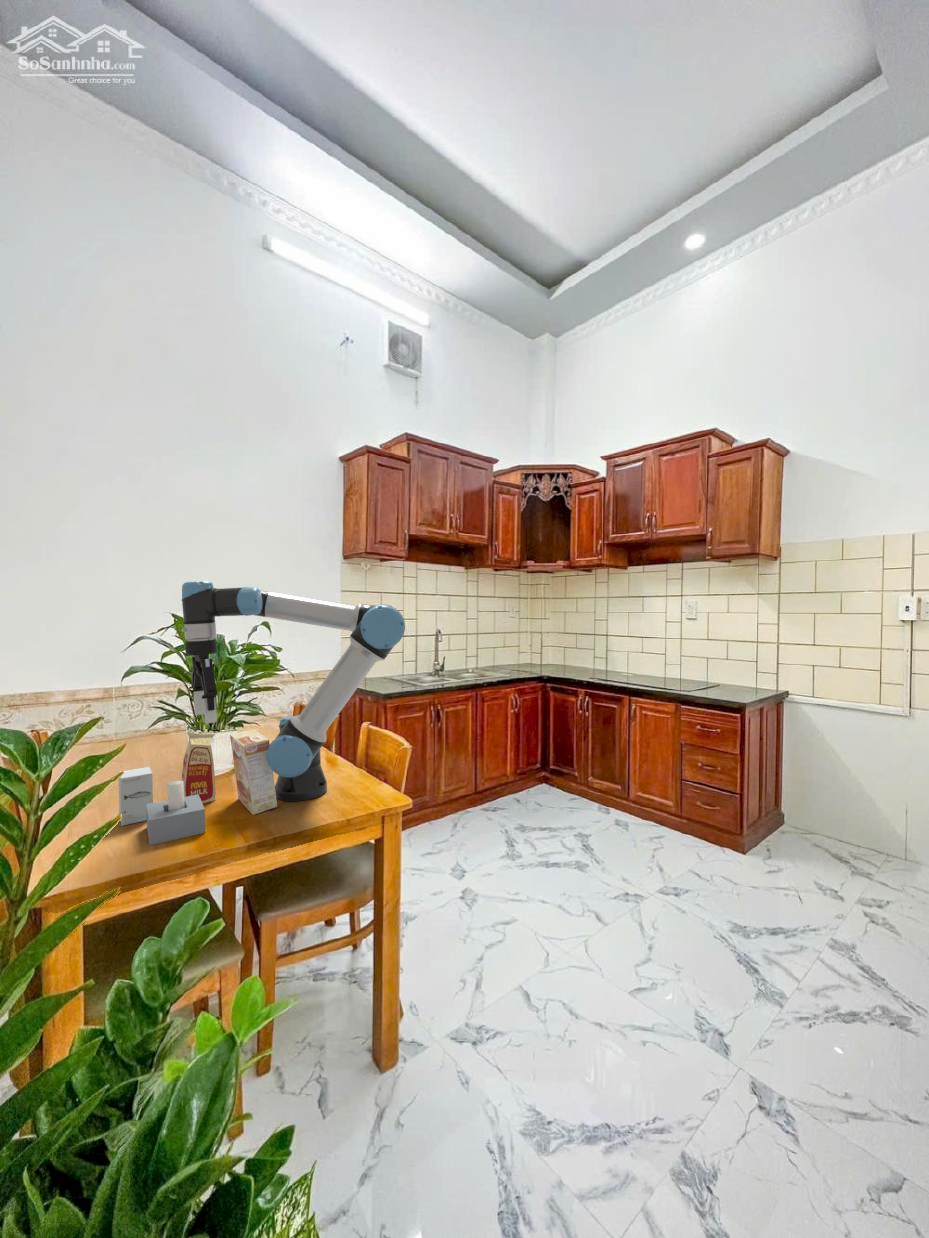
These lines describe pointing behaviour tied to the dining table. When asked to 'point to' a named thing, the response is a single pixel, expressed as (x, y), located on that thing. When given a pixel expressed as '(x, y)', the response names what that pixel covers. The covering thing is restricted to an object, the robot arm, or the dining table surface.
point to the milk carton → (199, 768)
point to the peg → (175, 795)
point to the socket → (175, 820)
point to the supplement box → (135, 794)
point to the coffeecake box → (253, 771)
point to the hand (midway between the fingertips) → (205, 718)
